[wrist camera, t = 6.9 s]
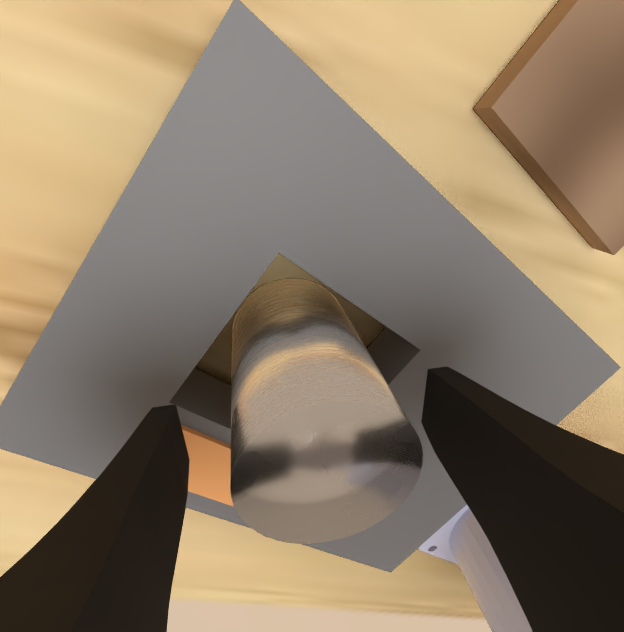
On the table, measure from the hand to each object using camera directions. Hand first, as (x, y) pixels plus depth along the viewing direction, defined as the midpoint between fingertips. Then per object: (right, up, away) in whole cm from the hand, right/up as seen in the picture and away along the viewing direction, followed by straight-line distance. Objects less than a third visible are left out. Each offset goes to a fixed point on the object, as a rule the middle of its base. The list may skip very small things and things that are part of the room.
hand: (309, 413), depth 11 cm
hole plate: (+1, +1, +5) cm, 5 cm away
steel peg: (-1, +2, +4) cm, 4 cm away
